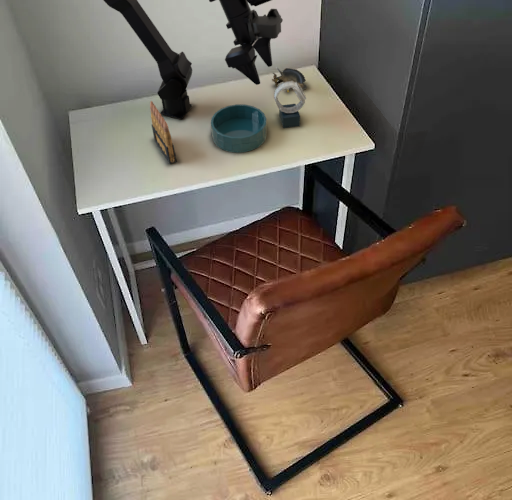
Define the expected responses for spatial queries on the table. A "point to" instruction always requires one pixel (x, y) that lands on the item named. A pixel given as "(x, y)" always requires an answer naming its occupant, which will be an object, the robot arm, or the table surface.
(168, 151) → the ammunition clip
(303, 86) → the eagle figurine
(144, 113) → the table surface
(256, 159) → the table surface
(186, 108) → the robot arm
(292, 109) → the watch
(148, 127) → the table surface
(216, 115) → the bowl
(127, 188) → the table surface
